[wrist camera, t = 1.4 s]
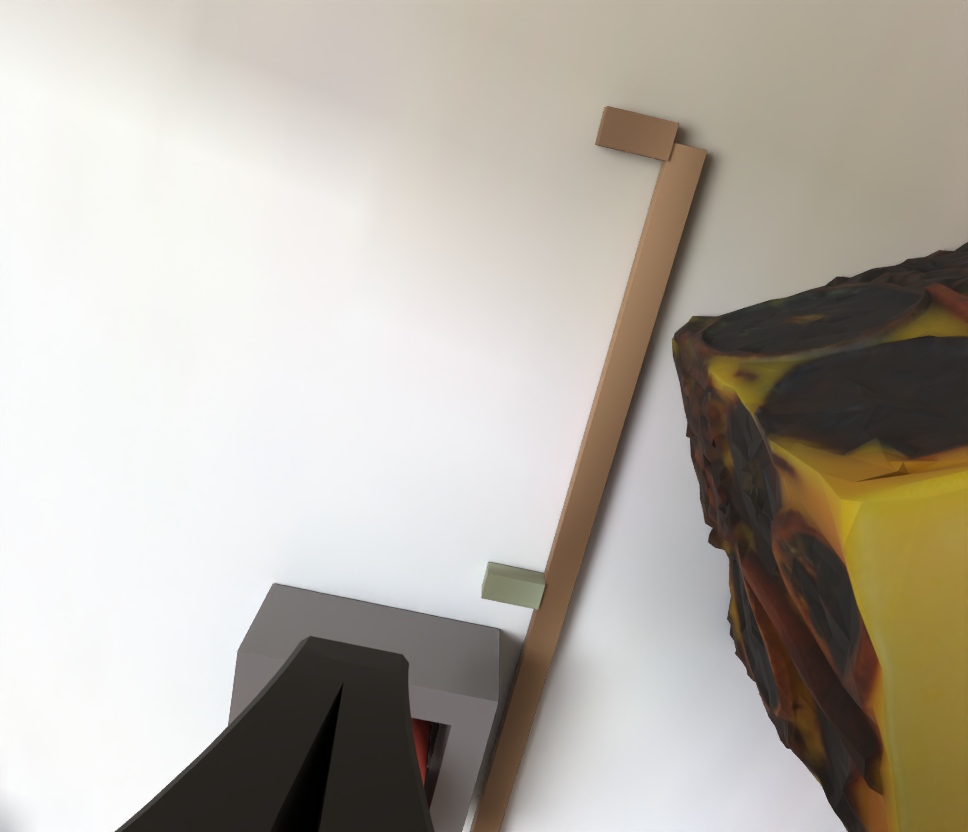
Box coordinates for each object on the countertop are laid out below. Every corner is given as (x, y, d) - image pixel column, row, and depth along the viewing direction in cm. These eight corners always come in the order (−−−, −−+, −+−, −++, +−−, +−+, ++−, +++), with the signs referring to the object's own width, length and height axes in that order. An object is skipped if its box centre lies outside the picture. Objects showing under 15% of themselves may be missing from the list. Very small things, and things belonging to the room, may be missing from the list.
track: (1319, 278, 18) (1345, 282, 17) (896, 975, 26) (904, 993, 26) (604, 107, 17) (608, 106, 16) (405, 885, 25) (403, 901, 25)
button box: (499, 629, 22) (498, 702, 19) (453, 799, 24) (446, 886, 21) (272, 583, 21) (237, 650, 19) (247, 759, 24) (212, 843, 21)
